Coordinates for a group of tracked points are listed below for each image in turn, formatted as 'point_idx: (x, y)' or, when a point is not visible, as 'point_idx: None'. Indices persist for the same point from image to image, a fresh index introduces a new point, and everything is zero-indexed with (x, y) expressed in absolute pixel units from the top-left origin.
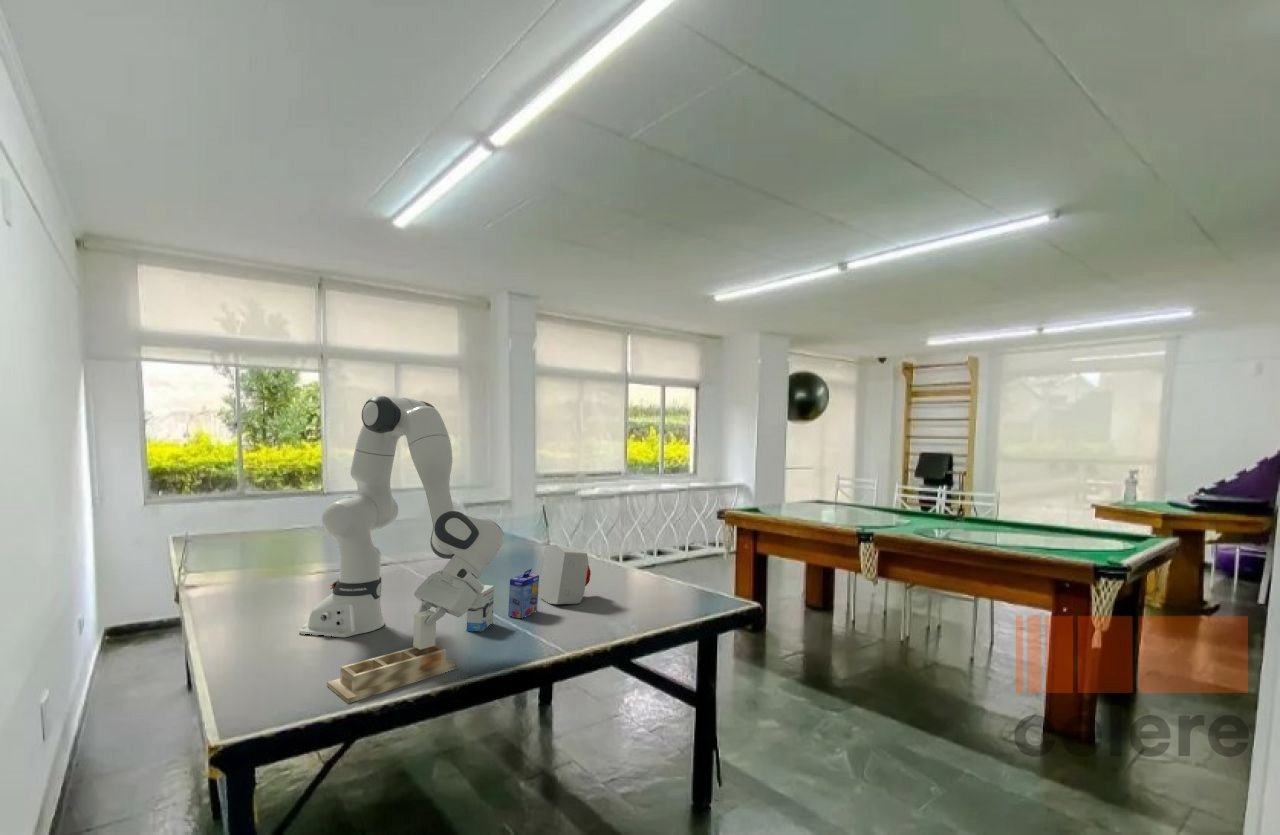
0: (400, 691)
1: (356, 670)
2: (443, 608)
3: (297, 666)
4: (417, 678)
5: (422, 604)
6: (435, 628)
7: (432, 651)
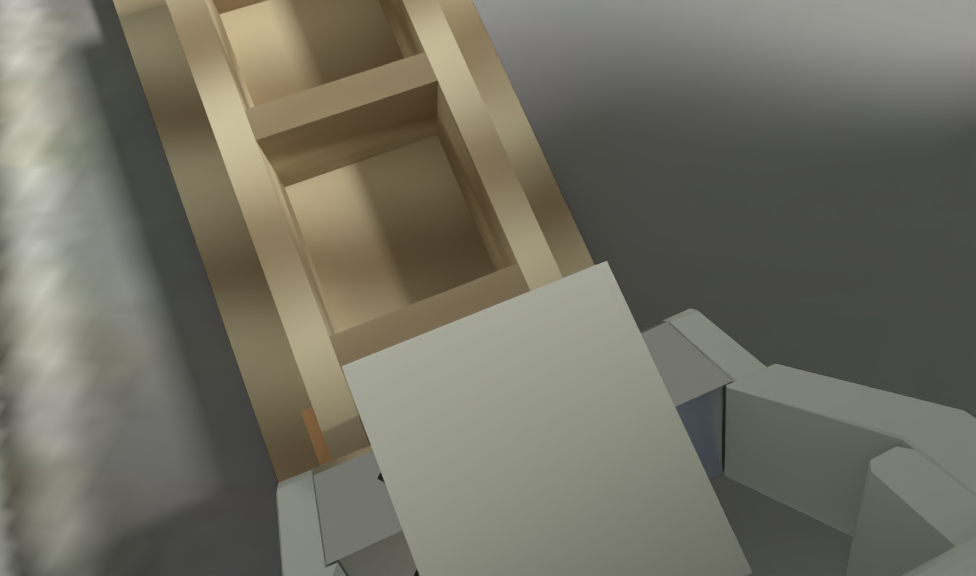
0: (138, 266)
1: None
2: None
3: None
4: (245, 380)
5: (922, 437)
6: None
7: None
